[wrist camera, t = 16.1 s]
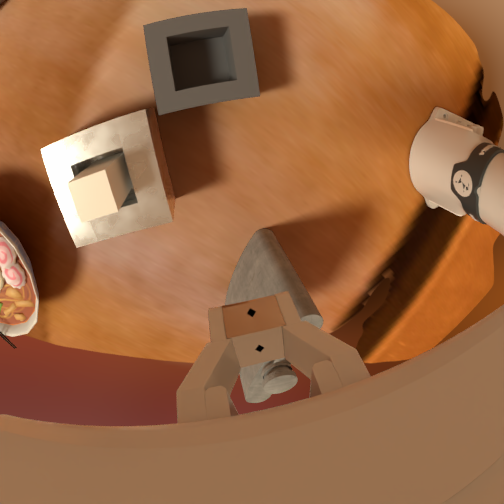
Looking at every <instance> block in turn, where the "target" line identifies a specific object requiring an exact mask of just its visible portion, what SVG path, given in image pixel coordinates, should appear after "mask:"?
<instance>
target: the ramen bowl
mask: <svg viewBox="0 0 504 504" xmlns="http://www.w3.org/2000/svg"><path fill="white" fill-rule="evenodd" d="M38 307H39V293H38V289H37V284H36V281H35V277H34V273H33V269H32V265H31V262H30V260H29V258H28V256H27V254H26V252H25V250H24V248H23V247H22V245H21V243H20V241H19V239H18V238H17V237H16V236H15V235H14V234H13V233H12V231H11V230H10V229H9V228H8V227H7V226H6V225H5V224H4V223H3V222H1V221H0V336H1V337H2V338H3V339H4V340H5V341H7V340H8V339H7V338H6V337H5V336H4V335H8V336H12V337H14V336H19V335H23V334H28V333H29V331H30V330H31V329H32V328H33V326H34V325H35V324H36V323H37V318H38ZM1 334H2V335H3V336H4V337H5V338H6V339H7V340H6V339H5V338H4V337H3V336H2V335H1ZM8 341H9V340H8ZM8 341H7V342H8ZM9 342H10V341H9ZM9 342H8V343H9ZM10 343H11V342H10ZM10 343H9V344H10ZM11 344H12V343H11ZM11 344H10V345H11ZM12 345H13V344H12ZM12 345H11V346H12ZM13 346H14V347H13ZM13 346H12V347H13V348H16V347H15V345H13Z"/></svg>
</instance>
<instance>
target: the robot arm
mask: <svg viewBox="0 0 504 504" xmlns="http://www.w3.org/2000/svg"><path fill="white" fill-rule="evenodd" d="M483 130H484V128H483V127H481V126H479V125H476V124H473V123H471V122H470V121H468V120H466V119H464V118H462V117H460V116H458V115H456V114H454V113H451V112H449V111H447V110H445V109H443V108H440V107H435V109H434V110H433V112H432V114H431V117H430V119H429V120H428V121H427V122H426V123H425V124H424V125H423V126H422V127H421V128H420V130H419V131H418V133H417V135H416V136H415V139H414V141H413V144H412V147H411V151H410V159H409V170H410V176H411V180H412V183H413V185H414V187H415V188H416V190H417V191H418V192H419V193H421V194H422V195H423V196H424V198H425V201H426V203H427V205H428V207H430V208H436V207H438V206H440V207H442V208H444V209H446V210H448V211H450V212H452V213H454V214H456V215H458V216H462V215H465V214H468V215H469V216H471V217H472V218H473V219H474V220H476V221H478V222H480V223H482V224H488V225H489V226H491V227H492V228H494V229H495V230H496V231H498V232H499V233H501V234H502V235H503V236H504V150H503V149H501V148H500V147H498V146H496V145H493V143H492V141H490V140H489V139H487V138H485V137H483V135H482V134H483ZM208 319H209V329H210V339H211V342H210V343H207V344H206V346H205V347H204V349H203V350H202V352H201V353H200V355H199V357H198V358H197V360H196V361H195V363H194V365H193V366H192V368H191V369H190V371H189V373H188V374H187V376H186V377H185V379H184V380H183V382H182V384H181V385H180V387H179V388H178V390H177V418H178V424H167V425H153V426H152V425H151V426H114V427H113V426H86V425H72V424H61V423H51V422H44V421H37V420H31V419H25V418H19V417H14V416H10V415H4V414H2V415H0V504H504V305H502V306H501V307H499V308H498V309H497V310H495V311H494V312H492V313H491V314H489V315H488V316H486V317H485V318H483V319H482V320H480V321H479V322H477V323H476V324H474V325H472V326H471V327H469V328H468V329H466V330H464V331H463V332H461V333H459V334H457V335H456V336H454V337H452V338H451V339H449V340H447V341H445V342H443V343H442V344H440V345H438V346H436V347H434V348H432V349H430V350H428V351H426V352H424V353H422V354H420V355H418V356H416V357H414V358H412V359H410V360H408V361H406V362H404V363H402V364H399V365H397V366H395V367H393V368H391V369H388V370H386V371H384V372H381V373H379V374H376V375H374V376H370V375H369V373H368V371H367V369H366V367H365V365H364V363H363V361H362V359H361V357H360V356H359V354H358V352H357V350H356V349H355V348H353V347H351V346H349V345H347V344H345V343H344V342H342V341H340V340H339V339H337V338H335V337H333V336H331V335H330V334H328V333H326V332H325V331H323V330H321V329H319V328H318V327H316V326H314V325H312V324H311V323H309V322H307V321H301V319H300V316H299V314H298V312H297V310H296V307H295V305H294V303H293V301H292V298H291V296H290V294H289V292H288V291H285V292H282V293H278V294H274V295H270V296H266V297H262V298H258V299H253V300H249V301H245V302H240V303H234V304H229V305H224V306H220V307H215V308H209V309H208ZM281 358H285V359H286V360H287V361H289V362H290V363H291V364H292V365H294V366H295V367H296V368H297V369H298V370H300V371H301V372H302V373H303V374H305V375H306V376H307V377H308V378H310V379H311V387H310V398H308V399H304V400H300V401H297V402H294V403H290V404H286V405H282V406H278V407H274V408H269V409H265V410H261V411H256V412H252V413H246V414H241V415H238V413H237V411H236V408H235V406H234V405H233V402H232V400H231V398H230V394H231V391H232V389H233V386H234V384H235V382H236V380H237V377H238V375H239V372H240V370H241V368H242V367H247V366H251V365H255V364H259V363H263V362H267V361H272V360H277V359H281Z"/></svg>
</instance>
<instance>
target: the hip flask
mask: <svg viewBox="0 0 504 504" xmlns="http://www.w3.org/2000/svg"><path fill="white" fill-rule="evenodd" d="M285 291H288V292H289V294H290V296H291V298H292V301H293V303H294V305H295V307H296V310H297V312H298V314H299V316H300V319H301V321H307V322H309V323H311V324H312V325H314V326H316V327H318V328H319V329H320V328H321V327H322V325H323V318H322V316H321V315H320V313H319V311H318V309H317V308H316V306H315V304H314V302H313V301H312V299H311V297H310V295H309V294H308V292H307V290H306V288H305V287H304V285H303V283H302V281H301V280H300V278H299V276H298V274H297V273H296V271H295V269H294V268H293V266H292V264H291V262H290V261H289V259H288V257H287V256H286V254H285V252H284V251H283V249H282V247H281V245H280V244H279V242H278V240H277V239H276V237H275V235H274V234H273V232H272V231H271V230H269V229H266V228H263V229H260V230H258V231H256V232H255V234H254V235H253V237H252V238H251V240H250V241H249V243H248V244H247V246H246V248H245V249H244V251H243V253H242V255H241V257H240V259H239V261H238V263H237V266H236V268H235V270H234V273H233V275H232V278H231V281H230V284H229V288H228V291H227V296H226V301H225V305H229V304H234V303H240V302H245V301H249V300H253V299H258V298H262V297H266V296H270V295H274V294H278V293H282V292H285ZM290 364H291V363H290V362H289V361H287V360H286V359H285V358H281V359H277V360H272V361H267V362H263V363H259V364H255V365H251V366H247V367H242V368H241V370H240V372H239V373H240V378H241V382H242V386H243V390H244V394H245V399H246V401H247V402H250V403H258V402H262V401H264V400H266V399H268V398H269V397H270V396H271V394H276V393H282V392H285V391H287V390H289V389H291V388H292V387H293V386H294V385H295V384H296V383H297V377H296V374H295V372H294V371H292V368H291V366H290Z"/></svg>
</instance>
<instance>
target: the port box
mask: <svg viewBox="0 0 504 504" xmlns="http://www.w3.org/2000/svg"><path fill="white" fill-rule="evenodd" d="M41 152H42V155H43V159H44V162H45V166H46V169H47V172H48V175H49V179H50V182H51V185H52V187H53V190H54V193H55V196H56V199H57V202H58V204H59V207H60V210H61V212H62V215H63V217H64V220H65V222H66V225H67V227H68V229H69V232H70V234H71V236H72V239H73V241H74V243H75V245H76V248H78V247H81V246H85V245H88V244H92V243H95V242H99V241H102V240H106V239H109V238H113V237H116V236H120V235H124V234H127V233H131V232H135V231H139V230H143V229H146V228H150V227H154V226H158V225H162V224H166V223H170V222H173V218H174V208H175V199H176V198H175V195H174V191H173V187H172V183H171V179H170V175H169V171H168V167H167V162H166V158H165V154H164V150H163V145H162V141H161V136H160V132H159V127H158V122H157V117H156V112H155V108H154V107H153V108H148V109H144V110H140V111H137V112H134V113H130V114H127V115H124V116H121V117H118V118H115V119H112V120H109V121H106V122H104V123H101V124H98V125H96V126H93V127H90V128H88V129H85V130H83V131H80V132H78V133H75V134H73V135H71V136H68V137H66V138H64V139H62V140H59V141H57V142H55V143H53V144H51V145H49V146H47V147H44V148H42V149H41ZM121 152H124V156H125V159H126V163H127V167H128V170H129V174H130V178H131V181H132V184H133V187H132V189H131V190H130V192H129V194H128V195H127V197H126V199H125V201H124V202H123V204H122V206H121V208H120V210H119V211H118V212H115V213H112V214H109V215H105V216H102V217H99V218H96V219H92V220H89V221H86V222H83V223H81V221H80V218H79V216H78V213H77V210H76V208H75V205H74V202H73V200H72V197H71V194H70V191H69V188H68V185H67V183H68V182H69V181H71V180H72V179H73V178H74V177H75V176H77V175H78V174H79V173H80V172H82V171H83V170H84V169H86V168H87V167H88V166H89V165H91V164H92V163H93V162H95V161H97V160H100V159H103V158H106V157H109V156H112V155H115V154H118V153H121Z"/></svg>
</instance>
